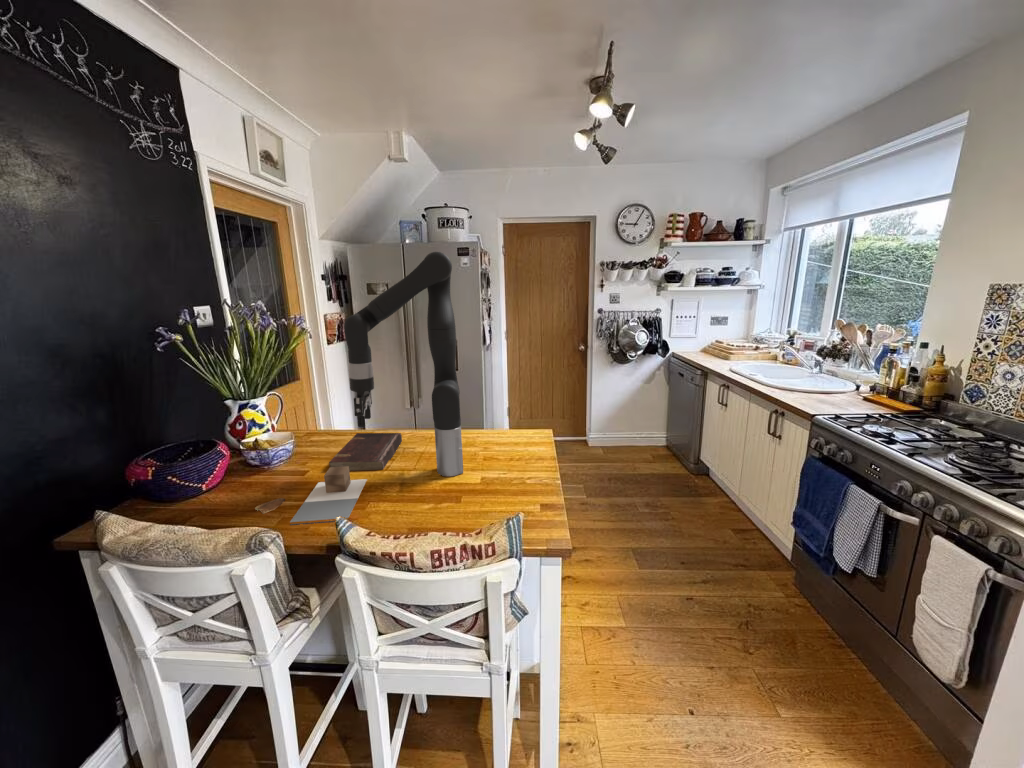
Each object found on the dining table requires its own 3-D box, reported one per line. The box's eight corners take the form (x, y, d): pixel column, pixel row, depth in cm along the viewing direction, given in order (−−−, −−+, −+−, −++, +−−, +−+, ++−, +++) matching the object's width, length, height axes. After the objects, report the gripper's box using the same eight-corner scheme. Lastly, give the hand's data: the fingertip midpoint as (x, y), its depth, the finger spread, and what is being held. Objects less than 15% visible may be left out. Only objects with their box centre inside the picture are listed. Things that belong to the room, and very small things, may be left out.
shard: (292, 496, 132) (291, 491, 131) (302, 504, 127) (302, 498, 126) (254, 511, 123) (253, 505, 123) (265, 519, 119) (264, 514, 118)
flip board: (367, 481, 140) (367, 479, 139) (349, 520, 117) (348, 517, 116) (318, 485, 138) (318, 482, 138) (290, 525, 115) (289, 522, 114)
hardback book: (383, 473, 147) (382, 460, 146) (330, 475, 146) (329, 462, 145) (402, 443, 175) (401, 432, 174) (358, 444, 174) (356, 433, 173)
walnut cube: (350, 482, 137) (348, 466, 135) (345, 491, 131) (343, 474, 130) (332, 484, 136) (329, 467, 135) (326, 492, 130) (324, 475, 129)
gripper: (368, 380, 127) (371, 429, 131) (377, 371, 141) (380, 415, 145) (343, 380, 126) (347, 430, 130) (354, 371, 140) (358, 416, 144)
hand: (364, 422), depth 137 cm, fingers open, 8 cm apart
